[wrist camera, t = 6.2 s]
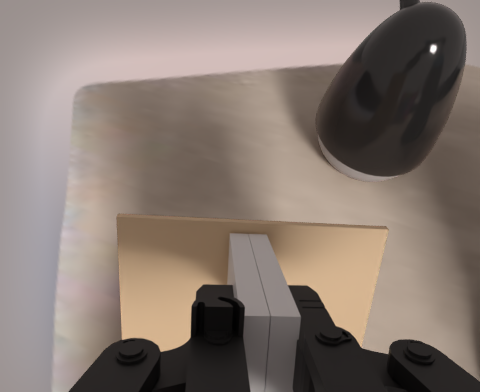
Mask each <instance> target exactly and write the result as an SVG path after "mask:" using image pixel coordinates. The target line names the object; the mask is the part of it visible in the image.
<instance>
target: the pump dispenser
mask: <svg viewBox="0 0 480 392" xmlns="http://www.w3.org/2000/svg"><path fill="white" fill-rule="evenodd" d="M465 60H466V34H465V28H464V25H463V23H462V21H461V19H460V18H459V17H458V15H457V14H456V13H455V12H454V11H452V10H451V9H450V8H448V7H446V6H444V5H442V4H438V3H432V2H422V3H420V1H419V0H400V11H398V12H396V13H395V14H393V15H392V16H390V17H389V18H387V19H386V20H385V21H383V22H382V23H381V24H380V25H379V26H378V27H377V28H376V29H375V30H373V31H372V32H371V33H370V34H369V35H368V36H367V37H366V38H365V39H364V41H363V42H362V43H361V44H360V45H359V46H358V47H357V49H356V50H355V51H354V52H353V53H352V55H351V56H350V57H349V58H348V59H347V61H346V62H345V63H344V65H343V66H342V67H341V69H340V70H339V72H338V73H337V75H336V76H335V78H334V79H333V81H332V82H331V84H330V86H329V87H328V89H327V91H326V93H325V94H324V96H323V98H322V100H321V102H320V105H319V107H318V110H317V114H316V129H317V133H318V141H319V144H320V148H321V150H322V152H323V154H324V156H325V157H326V159H327V160H328V161H329V163H330V164H331V165H332V166H333V167H334V168H335V169H337V170H338V171H339V172H341V173H342V174H344V175H346V176H348V177H350V178H353V179H356V180H360V181H367V182H379V181H385V180H389V179H392V178H395V177H397V176H399V175H402V174H405V173H408V172H410V171H412V170H414V169H415V168H416V167H418V166H419V165H420V164H421V163H422V162H423V161H424V159H425V158H426V157H427V156H428V154H429V153H430V151H431V150H432V148H433V147H434V145H435V143H436V141H437V140H438V138H439V136H440V134H441V132H442V130H443V128H444V126H445V124H446V122H447V120H448V118H449V115H450V113H451V110H452V108H453V105H454V102H455V99H456V96H457V93H458V90H459V87H460V83H461V80H462V76H463V71H464V66H465Z"/></svg>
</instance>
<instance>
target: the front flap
mask: <svg viewBox="0 0 480 392" xmlns="http://www.w3.org/2000/svg"><path fill="white" fill-rule="evenodd" d="M388 231H389V229H388V228H387V227H386V226H366V225H345V224H324V223H303V222H282V221H261V220H240V219H219V218H198V217H177V216H156V215H135V214H118V215H117V237H118V260H119V283H120V306H121V329H122V340H124V339H129V338H144V339H147V340H150V341H153V342H154V343H155V344H157V345H158V346H159V349H160V351H161V352H163V351H168V350H171V349H175V348H177V347H180V346H182V345H183V344H185V343H186V342H187V341H188V340H189V339H190V337H191V306H192V304H193V302H194V301H195V300H196V291H197V290H198V289H199V288H200V287H201V286H202V285H203V284H213V285H227V277H228V257H229V238H230V233H238V234H267V236H268V239H269V241H270V244H271V246H272V248H273V251H274V253H275V256H276V258H277V260H278V263H279V265H280V268H281V270H282V272H283V275H284V277H285V280H286V282H287V284H288V285H307V286H309V287H310V288H312V289H313V290H314V291H316V292H317V293H318V295H319V297H320V299H321V300H322V302H323V304H324V306H325V309H327V311H328V313H329V315H330V316H331V318H332V320H333V322H334V324H335V325H336V326H337V327H340V328H343V329H345V330H346V331H348V332H350V333H351V334H352V335H353V336H354V337H355V338H356V340H357V342H358V343H359V345H360V347H361V346H362V342H363V338H364V333H365V329H366V325H367V320H368V316H369V312H370V308H371V303H372V299H373V295H374V291H375V286H376V282H377V278H378V274H379V269H380V265H381V261H382V257H383V252H384V248H385V244H386V239H387V235H388Z"/></svg>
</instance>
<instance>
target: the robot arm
mask: <svg viewBox="0 0 480 392" xmlns="http://www.w3.org/2000/svg"><path fill="white" fill-rule="evenodd" d="M69 392H480V382H479V381H478V380H477V379H476V378H474V377H473V376H472V375H470V374H469V373H468V372H466V371H465V370H464V369H462V368H461V367H460V366H459V365H457V364H456V363H455V362H453V361H452V360H451V359H449V358H448V357H447V356H446V355H444V354H443V353H442V352H440V351H439V350H437V349H435V348H434V347H432V346H430V345H427V344H425V343H423V342H421V341H417V340H416V341H415V340H410V339H409V340H398V341H395V342H393V343H392V344H391V345H390V348H389V355H388V354H384V353H379V352H374V351H369V350H366V349H362V348H361V347H360V345H359V343H358V342H357V340H356V338H355V337H354V336H353V335H352V334H351V333H350V332H348V331H346V330H345V329H343V328H340V327H337V326H336V325H335V324H334V322H333V320H332V318H331V316H330V315H329V313H328V311H327V309H325V306H324V304H323V302H322V300H321V299H320V297H319V295H318V293H317V292H316V291H314V290H313V289H312V288H310V287H309V286H307V285H288V284H287V282H286V280H285V277H284V275H283V272H282V270H281V268H280V265H279V263H278V260H277V258H276V256H275V253H274V251H273V248H272V246H271V244H270V241H269V239H268V236H267V234H238V233H230V238H229V257H228V277H227V285H213V284H203V285H202V286H201V287H200V288H199V289H198V290H197V291H196V300H195V301H194V302H193V304H192V306H191V337H190V339H189V340H188V341H187V342H186V343H185V344H183V345H182V346H180V347H177V348H175V349H171V350H168V351H163V352H161V351H160V349H159V346H158V345H157V344H155V343H154V342H153V341H150V340H147V339H144V338H129V339H124V340H120V341H118V342H116V343H113V344H111V345H110V346H109V347H108V348H106V349H105V350H104V351H103V352H102V353H101V355H100V356H99V357H98V358H97V359H96V360H95V362H94V363H93V364H92V365H91V366H90V367H89V369H88V370H87V371H86V372H85V373H84V374H83V375H82V377H81V378H80V379H79V380H78V381H77V382H76V384H75V385H74V386H73V387H72V388H71V389H70V391H69Z"/></svg>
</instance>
